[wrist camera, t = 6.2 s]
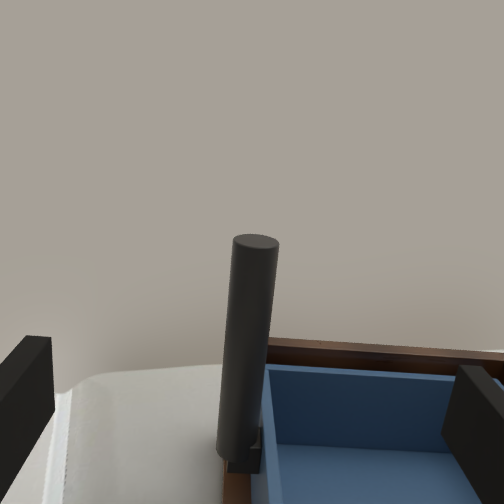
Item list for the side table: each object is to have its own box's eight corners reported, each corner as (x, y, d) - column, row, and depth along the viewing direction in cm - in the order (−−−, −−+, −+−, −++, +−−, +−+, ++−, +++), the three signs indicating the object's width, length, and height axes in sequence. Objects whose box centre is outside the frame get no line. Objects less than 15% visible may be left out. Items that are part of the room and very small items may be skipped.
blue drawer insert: (203, 627, 19) (231, 289, 15) (215, 441, 30) (234, 209, 25) (594, 639, 20) (743, 326, 15) (473, 455, 31) (540, 234, 26)
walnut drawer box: (213, 694, 18) (228, 541, 16) (224, 437, 32) (233, 334, 29) (653, 704, 19) (734, 563, 17) (480, 451, 33) (510, 353, 30)
